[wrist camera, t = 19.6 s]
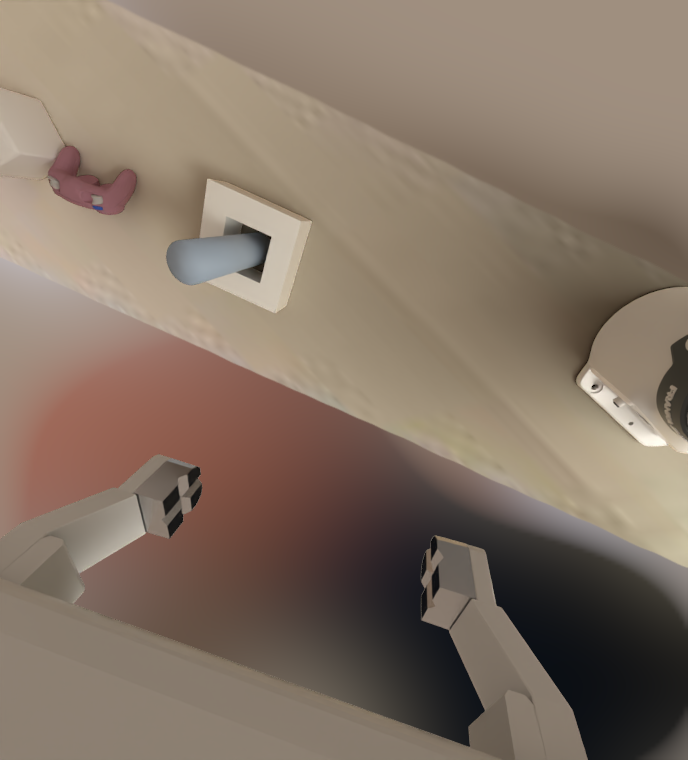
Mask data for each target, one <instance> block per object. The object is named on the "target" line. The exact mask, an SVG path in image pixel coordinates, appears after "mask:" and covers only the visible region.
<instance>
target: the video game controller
mask: <svg viewBox="0 0 688 760" xmlns="http://www.w3.org/2000/svg"><path fill="white" fill-rule="evenodd" d="M79 165H80V155H79V152H78V150H77V149H76V148H75V147H73V146H66V147H64V148H63V149H62V150H61V151H60V153H59V154H58V156H57V158H56V160H55V162H54V164H53V165H52V166H51V168H50V169H49V171H48V178H49V183H50V185H51V187H52V189H53V191H54V192H55V194H57V195H58V196H61V197H62V198H64V199H65V200H67V201H69V202H71V203H74V204H76V205H79V206H82V207H86V208H90V209H95V210H97V211H98V212H99V213H102V214H106V215H114V214H118V213H120V212H122V211H123V210H124V208H125V204H126V203H127V202H128V201H129V199H130V198H131V196H132V194H133V192H134V190H135V186H136V182H137V181H136V175H135V173H134V172H133V171H132V170H130V169H126V170H124V171H122V172H121V173H120V174H119V175H118V177H117V178H116V180H115V181H114V183H113V184H103V185H101V186H100V183H99V181H98V179H97V178H96V177H94V176H91V175H84V176H78V177H77V171H78V168H79Z"/></svg>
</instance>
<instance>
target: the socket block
mask: <svg viewBox="0 0 688 760" xmlns="http://www.w3.org/2000/svg"><path fill="white" fill-rule="evenodd" d="M242 224H245V225H247V226H249V227H251V228H253V229H256V230H258V231H260V232H262V233H264V234H266V235H269V236H271V241H270V245H269V249H268V253H267V257H266V261H265V266H264V270H263V273H262V272H260V271H258V270H255V269H253V268H247V269H244V270H241V271H238V272H235V273H231V274H228V275H225V276H222V277H218V278H215V279H212V280H209V281H206V282H207V283H209V284H211V285H213V286H216V287H218V288H220V289H222V290H224V291H227V292H229V293H231V294H233V295H235V296H238V297H240V298H242V299H244V300H246V301H249V302H251V303H253V304H255V305H257V306H260V307H262V308H264V309H266V310H268V311H271V312H273V313H277V312H278V311H280V310H281V309H282V308H284V307H285V306H287V303H288V300H289V297H290V294H291V290H292V287H293V284H294V280H295V277H296V274H297V270H298V267H299V264H300V260H301V257H302V254H303V251H304V247H305V244H306V241H307V237H308V234H309V231H310V227H311V224H312V221H311V220H309V219H307V218H304V217H302V216H300V215H298V214H296V213H294V212H291V211H289V210H287V209H285V208H283V207H280V206H278V205H276V204H274V203H272V202H270V201H267V200H265V199H263V198H261V197H259V196H256V195H254V194H252V193H250V192H248V191H246V190H243V189H241V188H239V187H237V186H235V185H232V184H230V183H228V182H224V181H219V180H213V179H208V178H207V185H206V193H205V200H204V207H203V215H202V222H201V230H200V237H199V238H206V237H216V236H226V235H236V234H241V229H242Z"/></svg>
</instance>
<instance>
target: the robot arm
mask: <svg viewBox="0 0 688 760" xmlns="http://www.w3.org/2000/svg"><path fill="white" fill-rule="evenodd" d="M576 383H577V385H578V386H579V387H580V388H581V389H582V390H583V391H585V392H586V393H587V394H588V395H589V396H590V397H591V398H592V399H593V400H594V401H595V402H596V403H597V404H598V405H599V406H601V407H602V408H603V409H604V410H605V411H606V412H607V413H608V414H609V415H610V416H611V417H612V418H613V419H614V420H616V421H617V422H618V423H619V424H620V425H621V426H622V427H623V428H624V429H625V430H626V431H627V432H628V433H629V434H631V435H632V436H633V437H634V438H635V439H636V440H637V441H638V442H640V443H641V444H642V445H644V446H666V445H669V446H670V447H672V448H673V449H674V450H675V451H677V452H680V453H688V287H674V288H667V289H663V290H659V291H655V292H652V293H649V294H647V295H644V296H642V297H640V298H638V299H636V300H634V301H632V302H631V303H629V304H627V305H626V306H624V307H623V308H621V309H620V310H619V311H618V312H616V313H615V314H614V315H613V316H612V317H611V318H610V319H609V320H608V321H607V322H606V323H605V324H604V326H603V327H602V328H601V330H600V331H599V333H598V334H597V336H596V338H595V340H594V343H593V345H592V349H591V353H590V357H589V360H588V362H587V364H586V365H585V366H584V368H583V369H582V370H581V372H580V373H579V375H578V376H577V379H576ZM594 384H596V385H595V387H592V385H594ZM200 475H201V472H200V467H197V466H194V465H191V464H187V463H185V462H181V461H178V460H175V459H172V458H169V457H166V456H162V455H156V456H154V457H152V458H151V459H150V460H149V461H148V462H147V463H145V464H144V465H143V466H142V467H141V468H140V469H139V470H138V471H137V472H135V473H134V475H132V476H131V477H130V478H129V479H128V480H127V481H126V482H124V483H123V484H122V485H121V486H120V487H119V488H118V489H117V488H111V489H108V490H106V491H103V492H101V493H98V494H95V495H93V496H90V497H88V498H85V499H83V500H80V501H78V502H75V503H72V504H70V505H67V506H64V507H62V508H59V509H57V510H54V511H52V512H49V513H46V514H44V515H41V516H38V517H36V518H33V519H31V520H28V521H26V522H23V523H20V524H19V525H18V526H17V527H15V528H14V529H13V530H11V531H10V532H9V533H7V534H6V535H5V536H4V537H2V538H1V539H0V760H588V759H587V756H586V753H585V750H584V746H583V743H582V740H581V737H580V733H579V730H578V727H577V723H576V720H575V717H574V714H573V711H572V709H571V707H570V706H569V704H568V703H567V701H566V700H565V699H564V697H563V696H562V694H561V693H560V691H559V690H558V688H557V687H556V686H555V684H554V683H553V681H552V680H551V678H550V677H549V675H548V674H547V673H546V671H545V670H544V668H543V667H542V665H541V664H540V663H539V661H538V660H537V658H536V657H535V655H534V654H533V652H532V651H531V650H530V648H529V647H528V645H527V644H526V642H525V641H524V640H523V638H522V637H521V635H520V634H519V632H518V631H517V629H516V628H515V626H514V625H513V624H512V622H511V621H510V619H509V618H508V616H507V615H506V614H505V612H504V611H503V609H502V608H500V607H497V606H496V602H495V597H494V592H493V587H492V582H491V577H490V572H489V568H488V562H487V557H486V553H485V551H484V550H483V549H481V548H477V547H474V546H470V545H466V544H465V543H461V542H457V541H454V540H449V539H447V538H442V537H439V536H434V537H433V538H432V540H431V542H430V543H431V549H428V550H426V552H425V555H424V558H423V562H422V568H421V582H422V584H423V586H424V588H425V590H424V592H423V594H422V595H421V620H423V621H426V622H428V623H432V624H434V625H437V626H440V627H443V628H445V629H448V630H450V631H449V632H450V635H451V637H452V639H453V641H454V643H455V645H456V647H457V650H458V652H459V654H460V656H461V659H462V661H463V663H464V665H465V667H466V669H467V671H468V674H469V676H470V678H471V680H472V683H473V685H474V687H475V689H476V691H477V693H478V695H479V698H480V700H481V702H482V704H483V706H484V709H485V712H484V713H483V714H482V715H481V716H480V717H478V718H477V719H476V720H475V721H474V722H473V723H472V724H471V725H470V726H469V738H470V747H467V746H464V745H462V744H459V743H456V742H453V741H450V740H448V739H445V738H442V737H439V736H436V735H434V734H431V733H428V732H426V731H423V730H420V729H417V728H415V727H412V726H409V725H406V724H403V723H401V722H398V721H395V720H392V719H390V718H387V717H384V716H381V715H379V714H376V713H373V712H370V711H368V710H365V709H362V708H359V707H356V706H354V705H351V704H348V703H345V702H343V701H340V700H337V699H334V698H331V697H329V696H326V695H323V694H321V693H318V692H315V691H312V690H309V689H307V688H304V687H301V686H298V685H296V684H293V683H290V682H287V681H284V680H282V679H279V678H276V677H274V676H271V675H268V674H265V673H262V672H260V671H257V670H254V669H251V668H249V667H246V666H243V665H240V664H237V663H235V662H232V661H229V660H226V659H224V658H221V657H218V656H215V655H213V654H210V653H207V652H204V651H202V650H199V649H196V648H193V647H191V646H188V645H185V644H182V643H179V642H177V641H174V640H171V639H168V638H166V637H163V636H160V635H157V634H154V633H152V632H149V631H146V630H143V629H141V628H138V627H135V626H132V625H129V624H127V623H124V622H121V621H119V620H116V619H113V618H110V617H107V616H105V615H102V614H99V613H96V612H93V611H91V610H88V609H85V608H83V607H80V606H77V605H74V604H73V603H74V602H75V601H76V600H77V599H78V598H79V597H80V595H81V594H82V593H83V592H84V588H85V585H84V583H83V581H82V579H81V577H80V575H79V573H81V572H83V571H84V570H86V569H88V568H89V567H91V566H92V565H94V564H95V563H97V562H99V561H101V560H102V559H104V558H106V557H107V556H109V555H111V554H112V553H114V552H116V551H117V550H119V549H121V548H122V547H124V546H126V545H127V544H129V543H131V542H132V541H134V540H136V539H137V538H139V537H141V536H142V535H144V534H145V533H146V532H148V533H152V534H155V535H158V536H162V537H166V538H169V539H170V538H171V536H172V535H173V534H174V533H175V531H176V530H177V529H178V527H179V526H180V525H181V524H182V522H183V514H185V513H187V512H189V511H191V510H192V509H193V508H194V507H195V505H196V504H197V502H198V500H199V498H200V496H201V492H202V483H201V482H200V481H199V479H198V477H199V476H200Z"/></svg>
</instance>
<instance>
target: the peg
mask: <svg viewBox="0 0 688 760" xmlns="http://www.w3.org/2000/svg"><path fill="white" fill-rule="evenodd" d="M269 245H270V239H269V238H268V237H267V236H266V235H264V234H262V233H259V232H256V233H246V234H236V235H226V236H216V237H206V238H196V239H187V240H178V241H175V242H173V243H172V244H171V245H170V246H169V247H168V250H167V254H166V259H167V264H168V267H169V269H170V271H171V273H172V274H173V275H174V277H175V278H176V279H178V280H179V281H180V282H182V283H184V284H187V285H196V284H199V283H202V282H206V281H209V280H212V279H215V278H218V277H222V276H225V275H228V274H231V273H235V272H238V271H241V270H244V269H247V268H251V267H254V266H257V265H260V264H263V263H265V261H266V257H267V253H268V249H269Z"/></svg>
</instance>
